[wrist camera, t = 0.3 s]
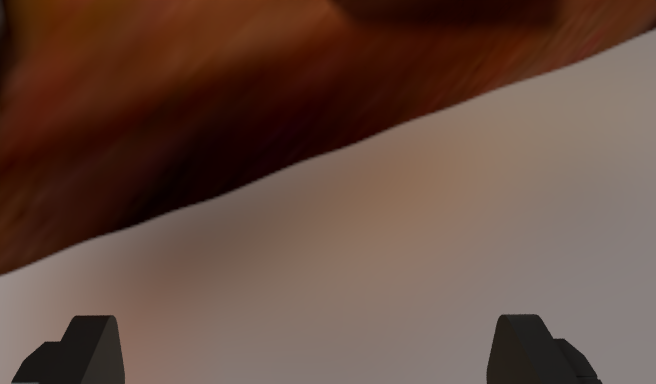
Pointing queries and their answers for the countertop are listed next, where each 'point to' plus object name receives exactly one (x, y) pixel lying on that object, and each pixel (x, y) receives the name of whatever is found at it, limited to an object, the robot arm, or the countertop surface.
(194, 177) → the countertop surface
